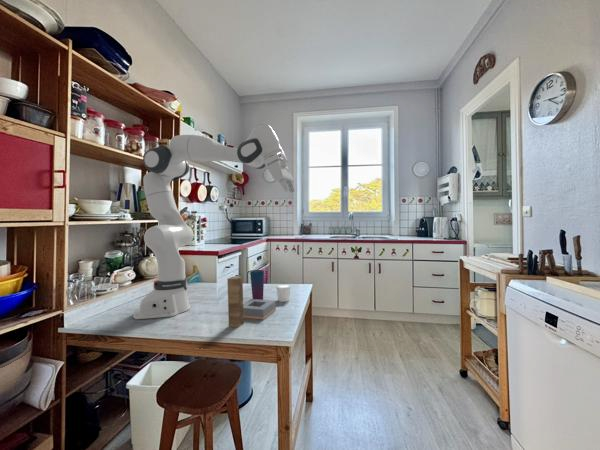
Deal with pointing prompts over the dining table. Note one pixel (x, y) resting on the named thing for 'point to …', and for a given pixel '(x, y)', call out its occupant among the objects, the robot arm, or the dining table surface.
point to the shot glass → (283, 292)
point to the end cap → (258, 308)
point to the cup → (257, 283)
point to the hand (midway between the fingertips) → (290, 191)
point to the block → (235, 301)
